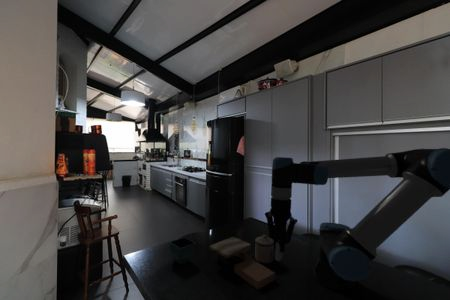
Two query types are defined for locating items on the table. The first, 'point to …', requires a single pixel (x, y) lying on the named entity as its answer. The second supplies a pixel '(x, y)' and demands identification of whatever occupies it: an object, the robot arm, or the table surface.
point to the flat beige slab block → (231, 249)
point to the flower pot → (182, 250)
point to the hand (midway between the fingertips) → (278, 259)
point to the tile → (254, 273)
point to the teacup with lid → (264, 249)
